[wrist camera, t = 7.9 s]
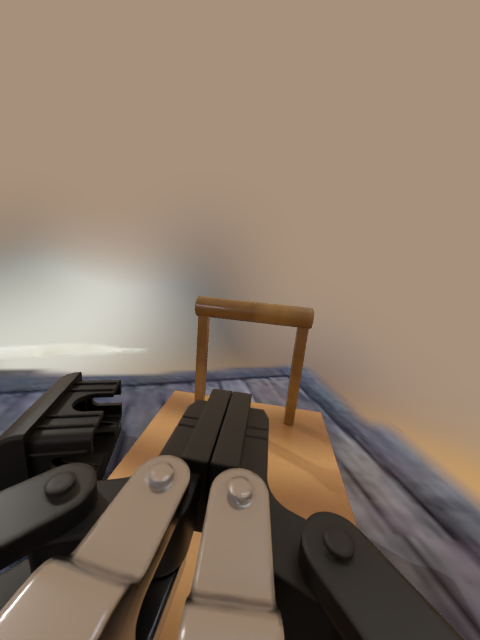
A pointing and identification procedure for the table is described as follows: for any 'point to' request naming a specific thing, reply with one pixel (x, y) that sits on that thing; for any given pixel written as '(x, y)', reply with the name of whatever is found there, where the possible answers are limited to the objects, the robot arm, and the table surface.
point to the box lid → (283, 444)
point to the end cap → (62, 430)
